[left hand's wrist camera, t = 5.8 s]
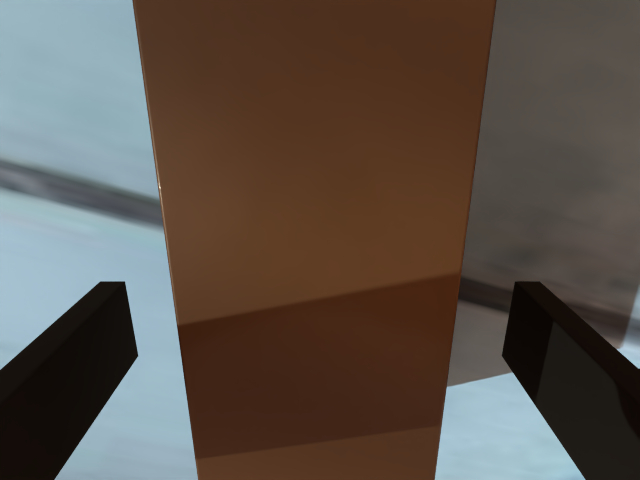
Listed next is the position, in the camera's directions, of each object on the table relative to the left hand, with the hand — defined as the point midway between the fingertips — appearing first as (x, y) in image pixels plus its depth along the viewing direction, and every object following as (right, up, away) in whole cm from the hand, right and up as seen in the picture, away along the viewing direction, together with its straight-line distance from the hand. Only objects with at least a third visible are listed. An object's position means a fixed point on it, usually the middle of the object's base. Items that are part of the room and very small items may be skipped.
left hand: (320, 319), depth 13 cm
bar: (0, +30, -9) cm, 32 cm away
